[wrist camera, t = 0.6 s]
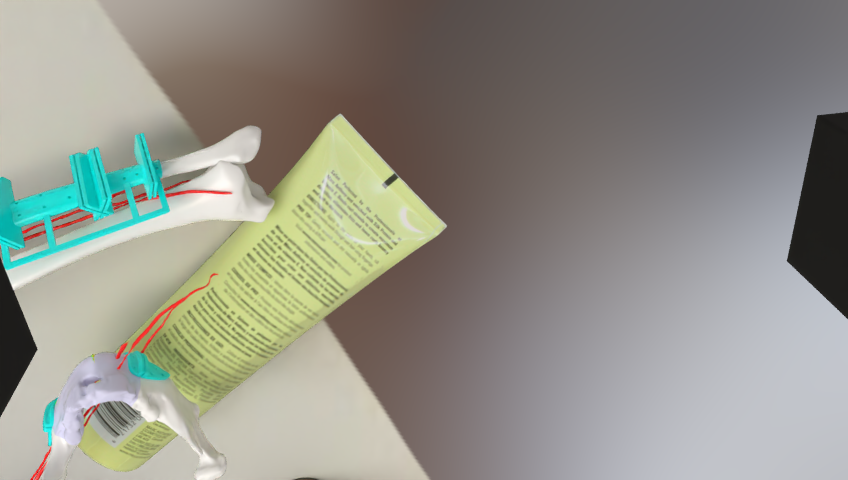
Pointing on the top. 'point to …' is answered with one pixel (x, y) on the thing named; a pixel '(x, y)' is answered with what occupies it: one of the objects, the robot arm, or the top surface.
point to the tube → (271, 284)
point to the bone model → (93, 191)
